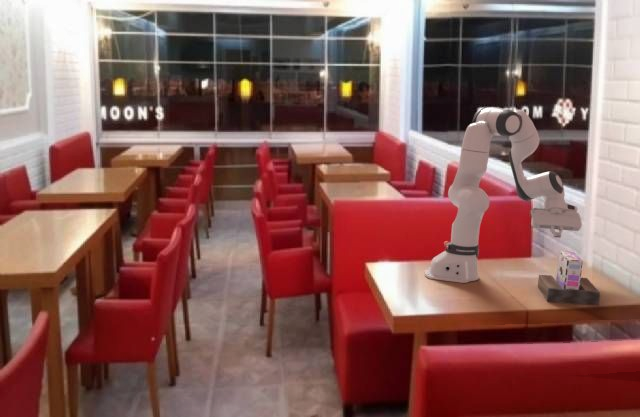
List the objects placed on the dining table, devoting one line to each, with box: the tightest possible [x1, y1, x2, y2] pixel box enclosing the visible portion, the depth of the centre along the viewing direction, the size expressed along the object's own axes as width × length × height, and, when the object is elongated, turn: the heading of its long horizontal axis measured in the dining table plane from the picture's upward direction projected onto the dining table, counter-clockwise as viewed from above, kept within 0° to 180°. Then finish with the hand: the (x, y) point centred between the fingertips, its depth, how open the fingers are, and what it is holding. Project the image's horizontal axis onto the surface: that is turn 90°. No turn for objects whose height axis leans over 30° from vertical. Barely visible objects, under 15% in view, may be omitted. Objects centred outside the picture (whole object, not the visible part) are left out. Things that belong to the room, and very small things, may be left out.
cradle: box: [537, 274, 601, 306], centre depth 263 cm, size 19×19×5 cm
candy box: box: [555, 250, 583, 290], centre depth 261 cm, size 14×6×16 cm, turn 173°
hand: (557, 236), depth 284 cm, fingers closed
